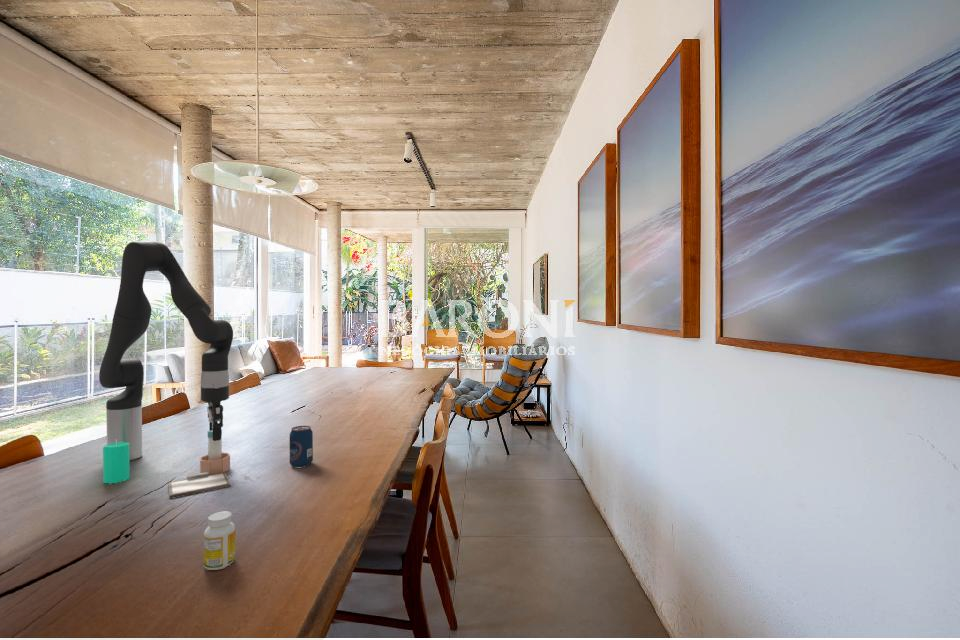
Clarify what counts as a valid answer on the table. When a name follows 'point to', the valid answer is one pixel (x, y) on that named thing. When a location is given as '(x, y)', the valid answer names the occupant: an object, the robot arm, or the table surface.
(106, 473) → the candle
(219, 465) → the pen cup
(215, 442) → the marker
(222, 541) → the supplement bottle
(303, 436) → the soda can
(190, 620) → the table surface
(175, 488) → the clipboard
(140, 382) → the robot arm
